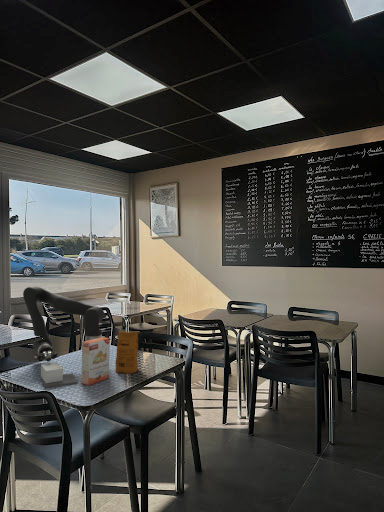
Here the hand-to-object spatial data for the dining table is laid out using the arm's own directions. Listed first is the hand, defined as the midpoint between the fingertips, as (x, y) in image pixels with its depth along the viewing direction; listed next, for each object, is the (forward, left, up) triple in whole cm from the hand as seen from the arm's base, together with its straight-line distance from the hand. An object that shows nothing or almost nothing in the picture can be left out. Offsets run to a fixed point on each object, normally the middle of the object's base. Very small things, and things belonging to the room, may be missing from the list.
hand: (48, 359), depth 188 cm
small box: (0, -2, -5) cm, 6 cm away
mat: (-5, +8, -9) cm, 13 cm away
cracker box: (-21, +15, -10) cm, 28 cm away
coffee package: (-40, +6, -10) cm, 42 cm away
